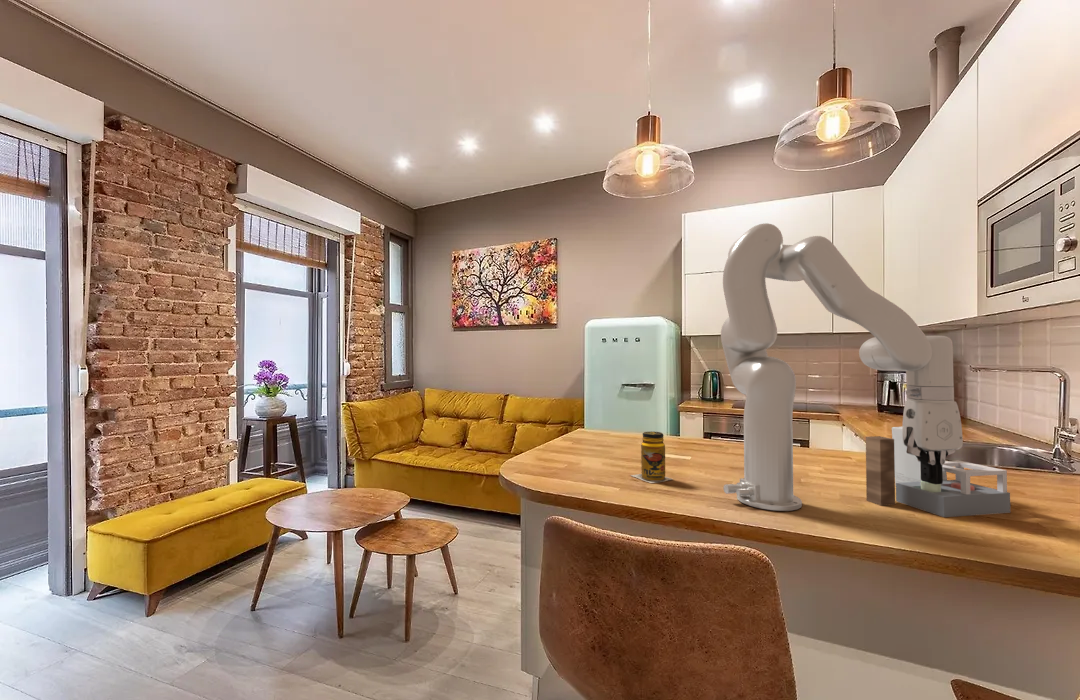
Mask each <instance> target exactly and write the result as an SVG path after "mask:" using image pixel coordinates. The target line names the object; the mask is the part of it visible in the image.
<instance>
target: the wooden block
mask: <svg viewBox="0 0 1080 700" xmlns="http://www.w3.org/2000/svg"><path fill="white" fill-rule="evenodd" d="M865 478H866V479H865V482H866V485H865V486H866V487H865V488H866V501H867V502H869V503H873V504H875V505H879V506H882V507H883V506H893V505H894V506H895V505H896V486H895V459H894V439H892V438H890V437H886V436H879V435H878V436H876V435H875V436H874V435H873V436H865Z"/></svg>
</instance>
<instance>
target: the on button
mask: <svg viewBox="0 0 1080 700" xmlns="http://www.w3.org/2000/svg"><path fill="white" fill-rule="evenodd" d="M921 489H923V490H926V491H930V492H941V484H932V483H928V482H924V481H921Z"/></svg>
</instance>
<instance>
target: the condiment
mask: <svg viewBox="0 0 1080 700" xmlns="http://www.w3.org/2000/svg"><path fill="white" fill-rule="evenodd" d="M664 436H665V435H664V433H663V432H661V431H644V432H643V433H642V443H641V444H640V455H641V456H640V457H641V462H640V464H641V466H640V467H641V473H639V474H637V473H636V474H630V477H633V478H636V479H639V480H641V481H643V482H646V483H650V484H654V483H664V482H667V481H672V480H673V478H670V477H668V476H666V445H665V442H664Z"/></svg>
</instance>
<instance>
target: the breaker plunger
mask: <svg viewBox="0 0 1080 700" xmlns="http://www.w3.org/2000/svg"><path fill="white" fill-rule="evenodd" d="M951 487H953V488H956V489H960V490H961V483H951ZM970 491H974V486H973V485H970Z"/></svg>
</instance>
